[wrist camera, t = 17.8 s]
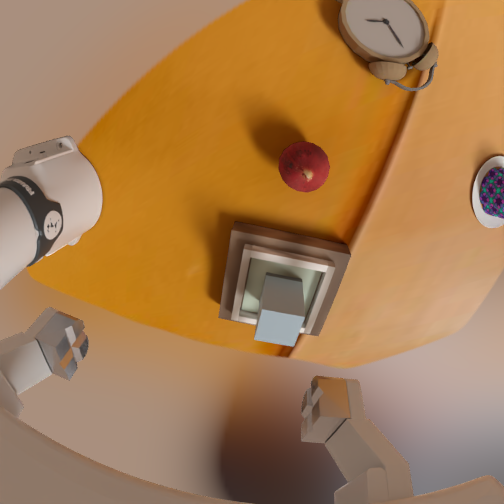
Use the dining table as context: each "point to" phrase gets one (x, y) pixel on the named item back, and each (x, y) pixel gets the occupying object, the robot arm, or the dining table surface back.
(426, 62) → the alarm clock
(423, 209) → the dining table surface
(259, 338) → the light blue-grey block
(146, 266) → the dining table surface
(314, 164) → the onion
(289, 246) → the tray
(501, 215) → the purple and white hat
